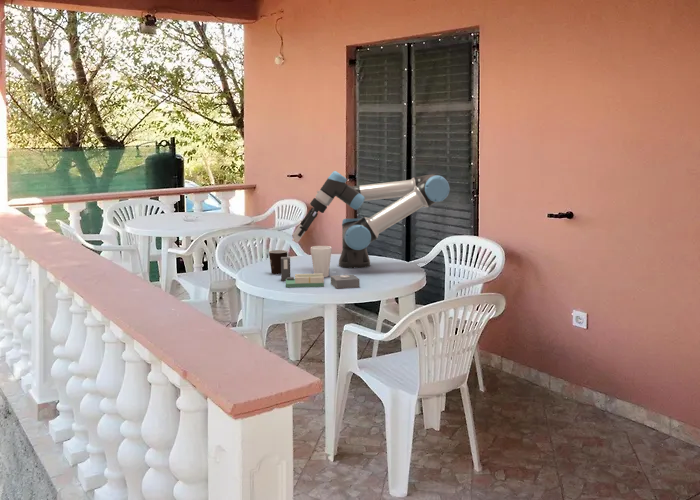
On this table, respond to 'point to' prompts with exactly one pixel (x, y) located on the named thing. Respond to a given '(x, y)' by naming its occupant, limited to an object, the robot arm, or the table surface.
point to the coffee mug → (276, 260)
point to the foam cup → (321, 259)
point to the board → (291, 283)
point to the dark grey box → (345, 281)
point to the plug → (285, 268)
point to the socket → (309, 278)
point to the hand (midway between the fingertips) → (294, 239)
